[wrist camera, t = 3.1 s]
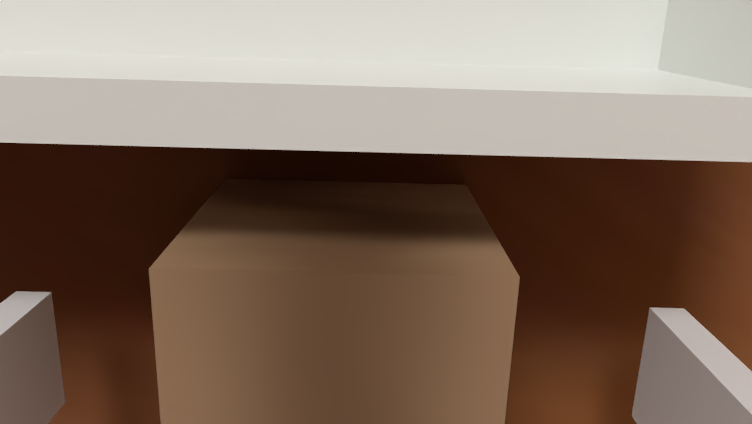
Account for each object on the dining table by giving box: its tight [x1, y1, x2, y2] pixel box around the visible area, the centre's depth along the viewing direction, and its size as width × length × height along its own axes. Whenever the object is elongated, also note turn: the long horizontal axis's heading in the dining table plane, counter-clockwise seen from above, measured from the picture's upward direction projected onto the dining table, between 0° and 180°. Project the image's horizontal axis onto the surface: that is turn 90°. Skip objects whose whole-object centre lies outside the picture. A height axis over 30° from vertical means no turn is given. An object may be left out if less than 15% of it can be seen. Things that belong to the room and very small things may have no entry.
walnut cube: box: [149, 178, 520, 424], centre depth 14 cm, size 6×6×6 cm
